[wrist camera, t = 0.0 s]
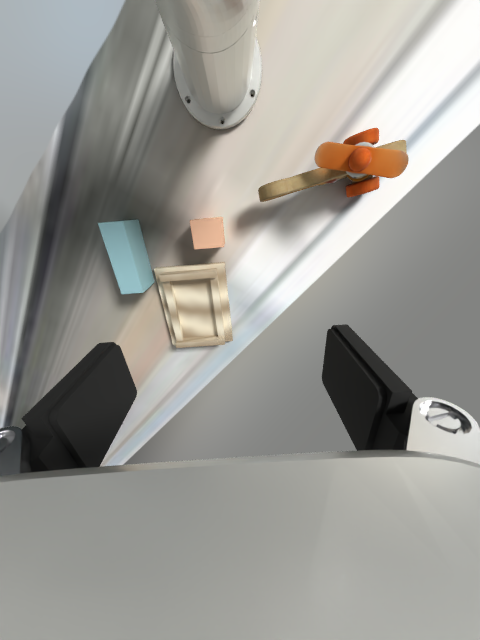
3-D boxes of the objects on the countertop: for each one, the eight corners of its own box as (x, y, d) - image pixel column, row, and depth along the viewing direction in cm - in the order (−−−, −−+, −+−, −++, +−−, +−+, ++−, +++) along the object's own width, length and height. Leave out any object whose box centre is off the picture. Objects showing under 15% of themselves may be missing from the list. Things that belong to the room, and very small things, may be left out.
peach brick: (195, 219, 41) (189, 220, 35) (222, 216, 41) (220, 217, 35) (199, 244, 43) (194, 249, 37) (225, 242, 43) (223, 247, 37)
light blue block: (117, 221, 41) (97, 223, 35) (138, 219, 41) (122, 220, 35) (135, 283, 46) (121, 294, 40) (154, 282, 46) (143, 292, 40)
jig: (155, 267, 45) (149, 272, 41) (224, 262, 44) (223, 266, 41) (174, 342, 53) (170, 351, 49) (232, 338, 52) (232, 346, 49)
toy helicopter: (374, 188, 39) (438, 178, 27) (261, 222, 41) (272, 227, 29) (374, 131, 36) (448, 89, 23) (250, 172, 38) (257, 154, 25)
